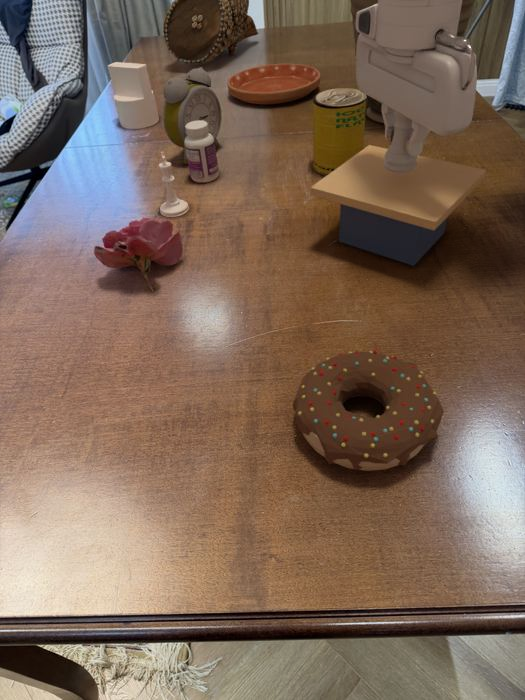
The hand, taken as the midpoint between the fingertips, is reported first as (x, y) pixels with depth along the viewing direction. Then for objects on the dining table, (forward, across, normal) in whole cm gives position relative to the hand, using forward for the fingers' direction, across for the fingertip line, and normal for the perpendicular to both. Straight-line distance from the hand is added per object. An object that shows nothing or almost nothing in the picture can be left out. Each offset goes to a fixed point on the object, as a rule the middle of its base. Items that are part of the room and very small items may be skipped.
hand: (402, 146), depth 66 cm
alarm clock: (+14, +45, +18) cm, 51 cm away
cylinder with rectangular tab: (+14, +70, +25) cm, 76 cm away
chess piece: (+14, +24, +28) cm, 39 cm away
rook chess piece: (+3, 0, 0) cm, 3 cm away
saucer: (+14, +71, -10) cm, 73 cm away
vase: (+14, +43, -28) cm, 53 cm away
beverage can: (+14, +26, -4) cm, 30 cm away
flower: (+14, +9, +36) cm, 39 cm away
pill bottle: (+14, +34, +19) cm, 41 cm away
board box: (+14, 0, 0) cm, 14 cm away
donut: (+14, -28, +20) cm, 38 cm away
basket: (+14, +114, -8) cm, 116 cm away
